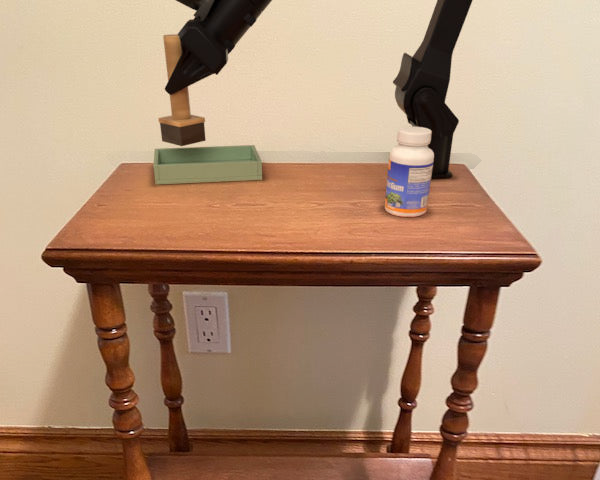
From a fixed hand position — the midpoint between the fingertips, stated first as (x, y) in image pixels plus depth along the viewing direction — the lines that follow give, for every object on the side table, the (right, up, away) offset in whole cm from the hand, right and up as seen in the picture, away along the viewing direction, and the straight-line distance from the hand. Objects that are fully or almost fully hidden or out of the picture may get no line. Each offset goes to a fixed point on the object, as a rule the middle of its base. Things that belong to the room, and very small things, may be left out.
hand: (168, 90), depth 85 cm
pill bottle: (+31, -18, -6) cm, 37 cm away
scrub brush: (+1, -5, +4) cm, 7 cm away
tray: (+4, -8, +8) cm, 12 cm away
